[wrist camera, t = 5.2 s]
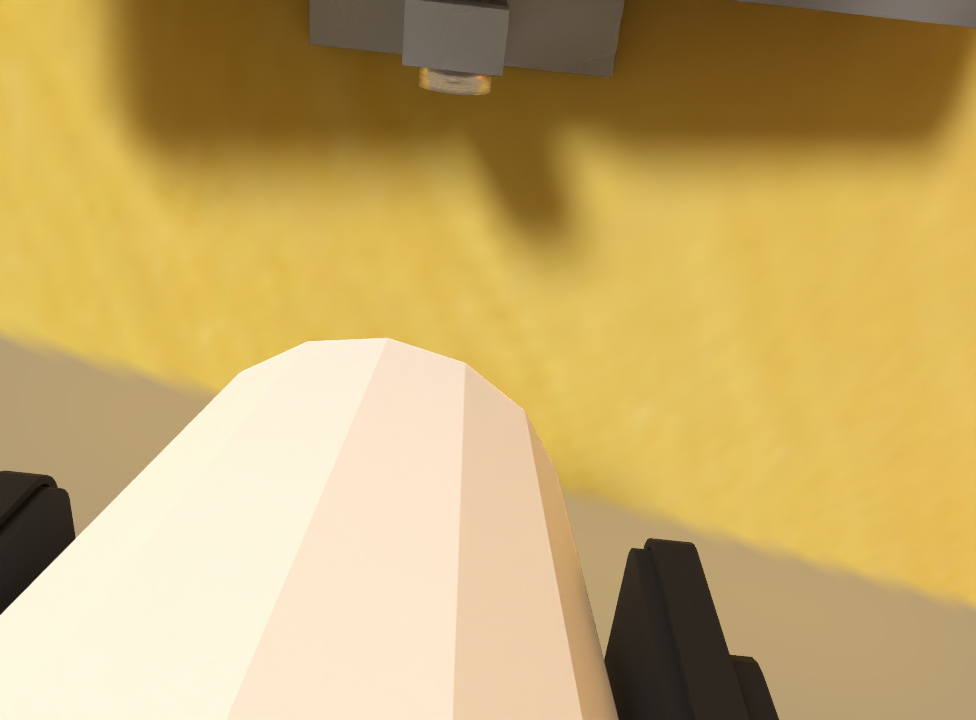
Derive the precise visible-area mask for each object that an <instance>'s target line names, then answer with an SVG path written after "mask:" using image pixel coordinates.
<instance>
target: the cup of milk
mask: <svg viewBox="0 0 976 720" xmlns="http://www.w3.org/2000/svg"><path fill="white" fill-rule="evenodd" d="M0 720H619V719H618V715H617V711H616V707H615V703H614V699H613V695H612V691H611V687H610V683H609V679H608V675H607V671H606V667H605V663H604V659H603V655H602V651H601V647H600V643H599V639H598V635H597V631H596V627H595V622H594V619H593V615H592V610H591V607H590V602H589V598H588V594H587V590H586V587H585V582H584V578H583V574H582V571H581V566H580V562H579V559H578V554H577V550H576V546H575V542H574V538H573V534H572V530H571V526H570V522H569V518H568V514H567V510H566V506H565V502H564V498H563V494H562V490H561V486H560V482H559V478H558V474H557V470H556V468H555V466H554V464H553V463H552V461H551V459H550V457H549V455H548V453H547V451H546V449H545V448H544V446H543V444H542V442H541V440H540V438H539V436H538V434H537V432H536V431H535V429H534V427H533V425H532V423H531V421H530V419H529V417H528V416H527V414H526V412H525V410H524V409H522V408H521V407H520V406H519V405H517V404H516V403H515V402H514V401H512V400H511V399H510V398H509V397H507V396H506V395H505V394H504V393H502V392H501V391H500V390H499V389H497V388H496V387H495V386H494V385H492V384H491V383H490V382H489V381H487V380H486V379H485V378H484V377H482V376H481V375H480V374H479V373H477V372H476V371H475V370H474V369H472V368H471V367H470V366H469V365H467V364H466V363H464V362H461V361H458V360H455V359H452V358H449V357H446V356H443V355H439V354H436V353H433V352H430V351H427V350H424V349H421V348H418V347H415V346H412V345H408V344H405V343H402V342H399V341H396V340H393V339H390V338H374V339H351V340H328V341H307V342H305V343H303V344H301V345H299V346H296V347H294V348H292V349H290V350H288V351H285V352H283V353H281V354H279V355H277V356H275V357H272V358H270V359H268V360H266V361H264V362H261V363H259V364H257V365H255V366H253V367H250V368H248V369H246V370H244V371H242V372H240V373H239V374H238V375H237V376H236V377H235V378H234V379H233V380H232V381H231V382H230V383H229V384H228V385H227V386H226V387H225V388H224V389H223V390H222V391H221V392H220V393H219V394H218V395H217V396H216V397H215V398H214V399H213V400H212V401H211V402H210V403H209V404H208V405H207V406H206V407H205V408H204V409H203V410H202V411H201V412H200V413H199V414H198V415H197V416H196V418H194V419H193V420H192V421H191V422H190V424H188V425H187V427H186V428H185V429H184V430H183V431H182V432H181V433H180V434H179V435H178V436H177V437H176V438H175V439H174V440H173V441H172V442H171V443H170V444H169V445H168V446H167V447H166V448H165V449H164V450H163V451H162V452H161V453H160V454H159V455H158V456H157V457H156V458H155V459H154V460H153V461H152V462H151V463H150V464H149V465H148V466H147V467H146V468H145V469H144V470H143V471H142V472H141V473H140V474H139V475H138V476H137V477H136V478H135V479H134V480H133V481H132V482H131V483H130V484H129V485H128V486H127V487H126V488H125V489H124V490H123V491H122V492H121V493H120V494H119V495H118V496H117V497H116V498H115V500H114V501H112V503H110V505H109V506H108V507H107V508H106V509H105V510H104V511H103V512H102V513H101V514H100V515H99V516H98V517H97V518H96V519H95V520H94V521H93V522H92V523H91V524H90V525H89V526H88V527H87V528H86V529H85V530H84V531H83V532H82V533H81V534H80V535H79V536H78V537H77V538H76V539H75V540H74V541H73V542H72V543H71V544H70V545H69V546H68V547H67V548H66V549H65V550H64V551H63V552H62V553H61V554H60V555H59V556H58V557H57V558H56V559H55V560H54V561H53V562H52V563H51V564H50V565H49V566H48V567H47V568H46V569H45V570H44V571H43V572H42V573H41V574H40V575H39V576H38V577H37V578H36V579H35V580H34V581H33V582H32V584H31V585H30V586H29V587H28V588H27V589H26V590H25V591H24V592H23V593H22V594H21V595H20V596H19V597H18V598H17V599H16V600H15V601H14V602H13V603H12V604H11V605H10V606H9V607H8V608H7V609H6V610H5V611H4V612H3V613H2V614H1V615H0Z"/></svg>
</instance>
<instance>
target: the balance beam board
mask: <svg viewBox="0 0 976 720" xmlns="http://www.w3.org/2000/svg"><path fill="white" fill-rule="evenodd" d="M733 1H742V2H751V3H760V4H769V5H778V6H786V7H795V8H804V9H813V10H822V11H830V12H839V13H848V14H857V15H866V16H874V17H883V18H892V19H901V20H910V21H918V22H927V23H936V24H945V25H954V26H962V27H971V28H976V0H733Z"/></svg>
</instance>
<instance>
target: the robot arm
mask: <svg viewBox="0 0 976 720" xmlns="http://www.w3.org/2000/svg"><path fill="white" fill-rule="evenodd" d="M75 539H76V538H75V531H74V525H73V518H72V512H71V505H70V499H69V495H68V493H67V492H66V490H64V489H62V488H57V484H56V482H55V480H54V479H53V478H52V477H51V476H48V475H41V474H32V473H22V472H13V471H0V615H1V614H2V613H3V612H4V611H5V610H6V609H7V608H8V607H9V606H10V605H11V604H12V603H13V602H14V601H15V600H16V599H17V598H18V597H19V596H20V595H21V594H22V593H23V592H24V591H25V590H26V589H27V588H28V587H29V586H30V585H31V584H32V582H33V581H34V580H35V579H36V578H37V577H38V576H39V575H40V574H41V573H42V572H43V571H44V570H45V569H46V568H47V567H48V566H49V565H50V564H51V563H52V562H53V561H54V560H55V559H56V558H57V557H58V556H59V555H60V554H61V553H62V552H63V551H64V550H65V549H66V548H67V547H68V546H69V545H70V544H71V543H72V542H73V541H74V540H75ZM604 663H605V667H606V671H607V675H608V679H609V683H610V687H611V691H612V695H613V699H614V703H615V707H616V711H617V715H618V719H619V720H779V718H778V716H777V712H776V710H775V707H774V704H773V701H772V698H771V695H770V693H769V690H768V687H767V684H766V681H765V678H764V676H763V673H762V671H761V669H760V667H759V665H758V663H757V662H756V661H755V660H754V659H753V658H752V657H746V656H736V655H730V654H729V651H728V648H727V645H726V642H725V639H724V635H723V632H722V629H721V626H720V622H719V619H718V616H717V613H716V610H715V606H714V603H713V600H712V597H711V594H710V590H709V588H708V584H707V581H706V578H705V575H704V571H703V568H702V565H701V562H700V559H699V555H698V552H697V549H696V547H695V545H694V544H693V543H690V542H681V541H671V540H662V539H652V538H649V539H648V540H647V541H646V543H645V546H644V549H636V548H632V549H631V550H630V552H629V555H628V558H627V563H626V567H625V571H624V576H623V581H622V585H621V589H620V593H619V598H618V602H617V606H616V611H615V616H614V620H613V624H612V629H611V633H610V637H609V642H608V646H607V651H606V655H605V659H604Z"/></svg>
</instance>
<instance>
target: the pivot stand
mask: <svg viewBox="0 0 976 720" xmlns="http://www.w3.org/2000/svg"><path fill="white" fill-rule="evenodd" d="M624 1H625V0H310V13H309V44H310V45H319V46H329V47H338V48H347V49H356V50H365V51H374V52H383V53H392V54H401V55H402V65H406V66H415V67H420V69H419V85H418V86H419V87H421V88H423V89H427V90H431V91H435V92H441V93H448V94H457V95H487V94H490V89H491V79H492V75H496V76H503V68H504V66H509V67H518V68H527V69H536V70H545V71H554V72H563V73H572V74H581V75H591V76H600V77H609V78H612V74H613V68H614V62H615V56H616V50H617V44H618V38H619V32H620V26H621V20H622V14H623V7H624Z"/></svg>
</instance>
